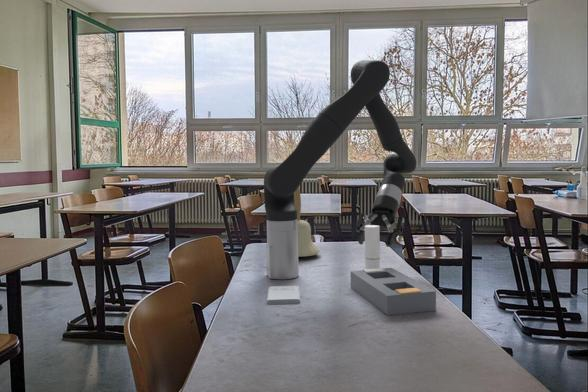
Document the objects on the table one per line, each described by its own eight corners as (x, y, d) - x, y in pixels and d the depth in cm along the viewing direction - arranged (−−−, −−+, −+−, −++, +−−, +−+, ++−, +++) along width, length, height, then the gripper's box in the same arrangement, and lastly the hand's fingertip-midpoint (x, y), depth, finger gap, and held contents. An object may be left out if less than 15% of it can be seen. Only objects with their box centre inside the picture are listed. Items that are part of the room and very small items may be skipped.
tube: (379, 278, 140) (379, 227, 138) (364, 278, 140) (364, 227, 139) (380, 274, 144) (379, 225, 142) (365, 274, 145) (365, 225, 143)
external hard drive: (266, 306, 119) (268, 291, 131) (300, 305, 119) (299, 290, 131) (266, 299, 118) (268, 285, 131) (300, 298, 119) (298, 285, 131)
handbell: (269, 258, 171) (266, 188, 168) (291, 250, 183) (290, 185, 181) (306, 262, 163) (304, 188, 160) (327, 254, 175) (326, 185, 173)
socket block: (435, 310, 110) (435, 289, 110) (387, 315, 108) (387, 294, 107) (391, 283, 134) (391, 266, 133) (350, 287, 131) (350, 270, 131)
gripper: (362, 193, 152) (347, 235, 143) (406, 194, 145) (393, 238, 136) (369, 208, 157) (355, 249, 148) (412, 210, 150) (399, 253, 141)
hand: (373, 244), depth 142 cm, fingers open, 8 cm apart
